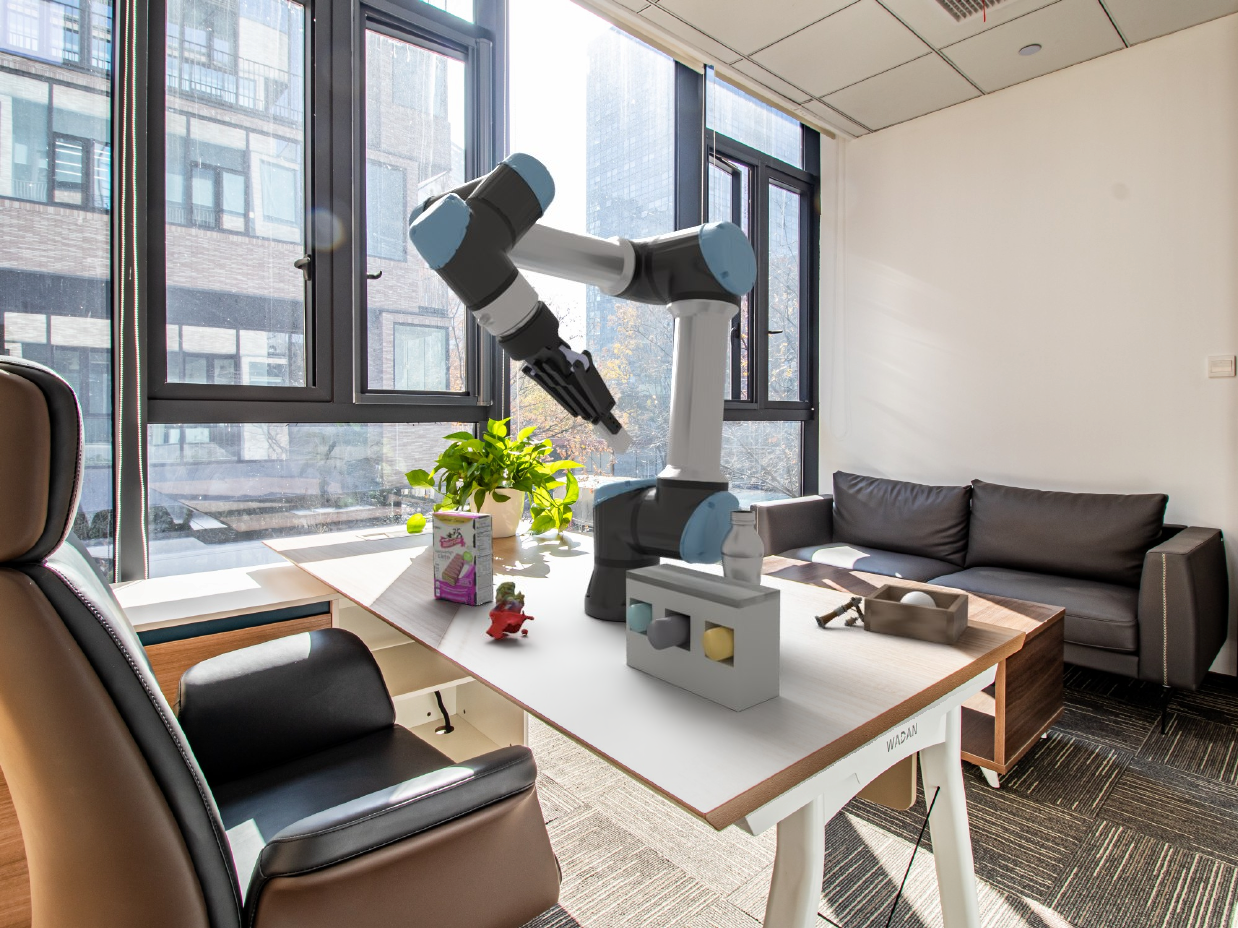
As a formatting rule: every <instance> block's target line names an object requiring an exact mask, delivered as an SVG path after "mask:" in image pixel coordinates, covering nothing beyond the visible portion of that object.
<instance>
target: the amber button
mask: <svg viewBox="0 0 1238 928" xmlns="http://www.w3.org/2000/svg"><path fill="white" fill-rule="evenodd" d="M702 645H703V649H704V651H705V653H706V655H707V656H708V657H709V658H710V659H712V660H714V661H718V660H721V659H725V658H728V657H731V656H734V629H732V628H729V627H725V626H721V627H717V628H713V629H710V630H707V631H706V632H705V633H704V635H703V638H702Z"/></svg>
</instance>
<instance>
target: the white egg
mask: <svg viewBox="0 0 1238 928" xmlns="http://www.w3.org/2000/svg"><path fill="white" fill-rule="evenodd" d="M900 602H901V603H908V604H915V605H922V606H929V607H936V605H935V603H934V601H933V599H932V598H931V597H930V596H929V595H927V594H925V593H923V592H911V593H908V594H907V595H905V596H904V597H903V598H902V600H901V601H900Z"/></svg>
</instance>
